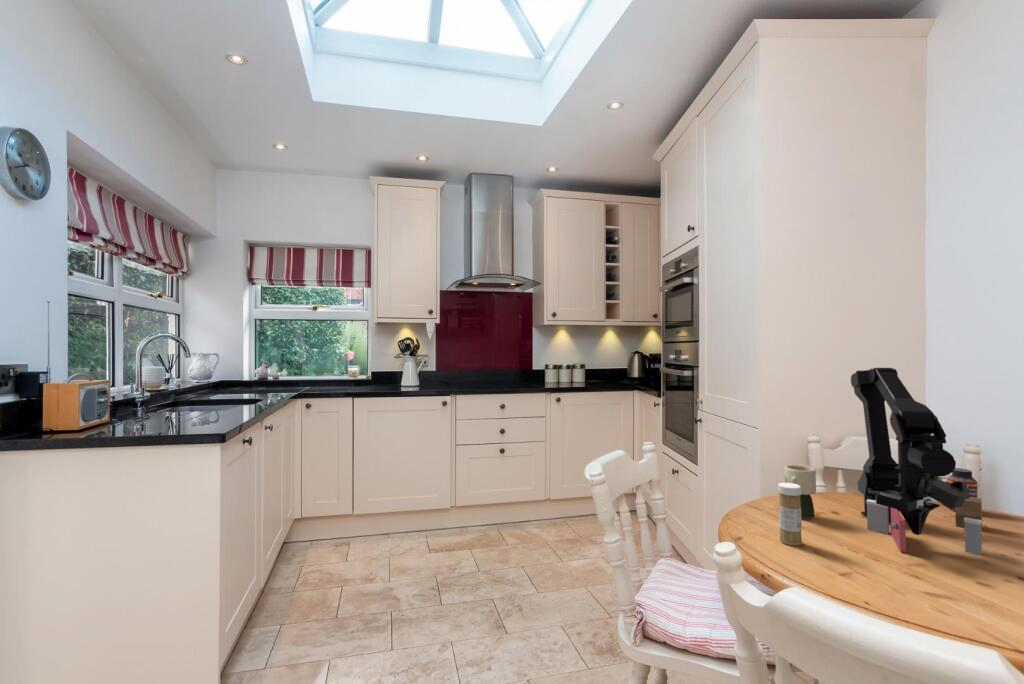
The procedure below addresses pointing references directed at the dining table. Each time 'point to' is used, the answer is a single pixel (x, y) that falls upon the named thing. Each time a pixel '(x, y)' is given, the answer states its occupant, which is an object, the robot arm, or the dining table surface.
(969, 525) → the pair of grey plates
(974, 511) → the block
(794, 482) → the character mug
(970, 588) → the dining table surface
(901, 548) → the door
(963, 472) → the supplement bottle
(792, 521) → the sprinkles bottle
